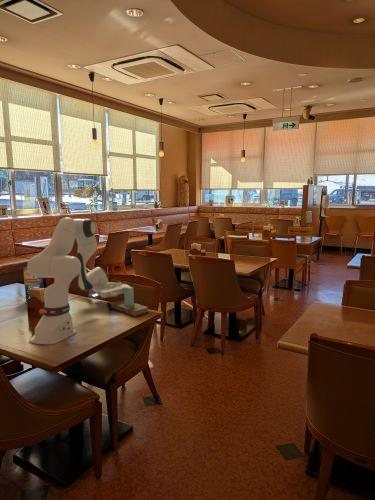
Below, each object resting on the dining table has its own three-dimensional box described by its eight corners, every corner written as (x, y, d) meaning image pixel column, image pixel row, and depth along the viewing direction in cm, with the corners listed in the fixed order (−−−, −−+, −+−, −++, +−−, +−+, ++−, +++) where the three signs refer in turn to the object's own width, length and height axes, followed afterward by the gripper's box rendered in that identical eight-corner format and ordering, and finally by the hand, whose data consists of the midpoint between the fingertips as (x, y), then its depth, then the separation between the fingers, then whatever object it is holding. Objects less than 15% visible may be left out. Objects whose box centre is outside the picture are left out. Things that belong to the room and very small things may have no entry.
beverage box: (44, 301, 233) (42, 268, 230) (25, 303, 229) (23, 269, 226) (44, 298, 239) (41, 266, 236) (26, 300, 235) (23, 267, 232)
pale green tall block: (134, 310, 214) (133, 287, 212) (130, 311, 212) (129, 288, 210) (128, 308, 218) (128, 286, 215) (124, 309, 215) (124, 287, 213)
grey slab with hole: (148, 312, 211) (148, 307, 211) (134, 316, 204) (134, 311, 203) (124, 304, 226) (124, 299, 225) (111, 308, 219) (111, 303, 218)
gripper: (94, 287, 219) (108, 291, 210) (122, 281, 234) (135, 285, 224) (95, 297, 220) (108, 302, 211) (122, 291, 235) (136, 295, 225)
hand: (123, 293), depth 218 cm, fingers open, 8 cm apart
